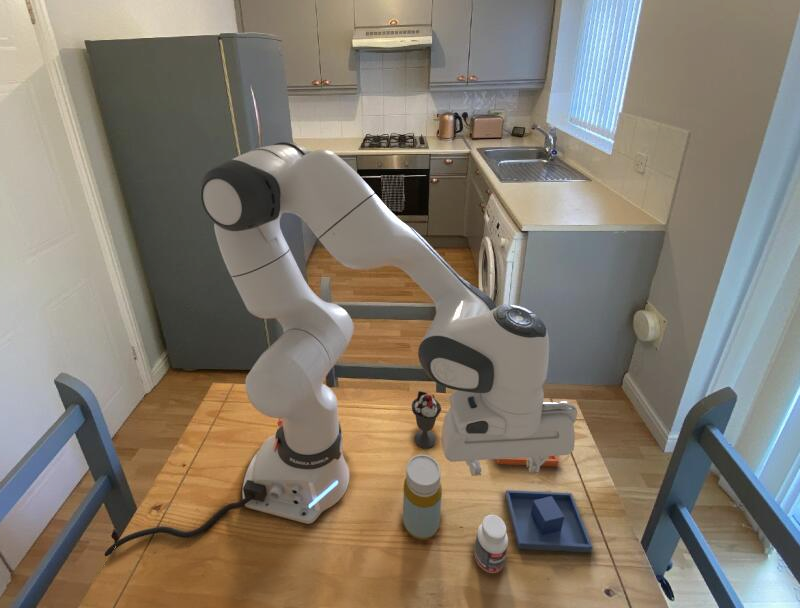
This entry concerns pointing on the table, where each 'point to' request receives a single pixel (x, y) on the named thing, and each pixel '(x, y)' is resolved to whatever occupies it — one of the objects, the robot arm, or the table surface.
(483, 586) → the table surface
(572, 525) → the blue tray
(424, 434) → the sundae
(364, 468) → the table surface
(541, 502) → the blue block
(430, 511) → the bottle
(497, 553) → the pill bottle
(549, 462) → the orange tray
